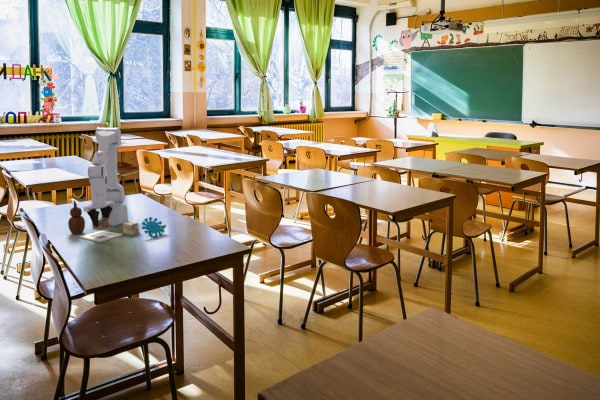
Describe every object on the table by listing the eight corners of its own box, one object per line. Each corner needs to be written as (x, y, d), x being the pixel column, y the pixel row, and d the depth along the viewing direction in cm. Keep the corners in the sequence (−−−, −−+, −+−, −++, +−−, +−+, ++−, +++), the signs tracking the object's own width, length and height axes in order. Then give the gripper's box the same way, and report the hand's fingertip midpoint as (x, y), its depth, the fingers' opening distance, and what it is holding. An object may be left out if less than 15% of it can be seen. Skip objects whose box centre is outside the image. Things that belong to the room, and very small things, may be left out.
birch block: (131, 231, 244) (130, 221, 243) (138, 232, 242) (138, 222, 241) (123, 233, 240) (123, 223, 239) (131, 235, 238) (130, 224, 237)
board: (102, 231, 243) (102, 229, 242) (122, 235, 237) (122, 233, 237) (79, 237, 232) (79, 236, 232) (99, 242, 227) (99, 240, 226)
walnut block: (101, 226, 237) (100, 216, 236) (108, 228, 235) (108, 217, 234) (92, 229, 233) (92, 218, 232) (100, 230, 231) (99, 220, 230)
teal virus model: (145, 236, 230) (140, 216, 235) (140, 243, 234) (135, 224, 238) (170, 235, 237) (164, 216, 242) (164, 242, 241) (159, 223, 245)
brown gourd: (78, 235, 236) (76, 201, 233) (66, 234, 237) (64, 200, 234) (87, 231, 242) (85, 198, 239) (76, 230, 243) (73, 197, 240)
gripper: (91, 197, 223) (93, 230, 225) (118, 191, 235) (120, 222, 238) (79, 195, 226) (81, 228, 229) (107, 190, 238) (109, 220, 241)
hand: (100, 225), depth 234 cm, fingers closed on walnut block, 4 cm apart
